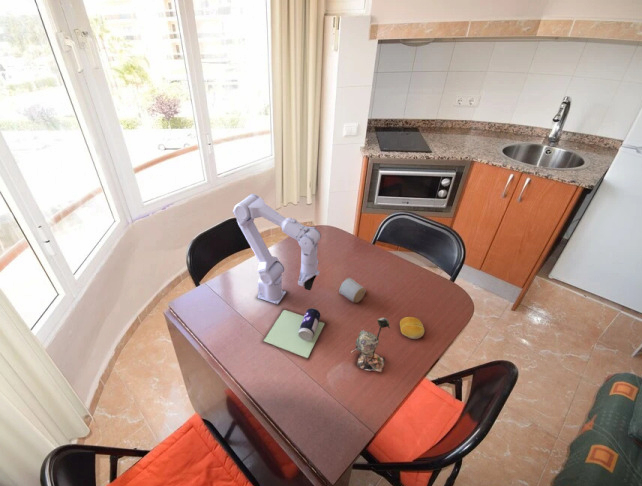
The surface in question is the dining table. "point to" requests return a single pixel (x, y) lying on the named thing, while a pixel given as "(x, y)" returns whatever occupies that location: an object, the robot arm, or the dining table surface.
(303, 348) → the mat
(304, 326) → the beverage can
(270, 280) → the robot arm
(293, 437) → the dining table surface
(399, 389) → the dining table surface
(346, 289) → the white cylinder
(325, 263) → the dining table surface
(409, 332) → the bread roll
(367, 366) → the grey figurine
